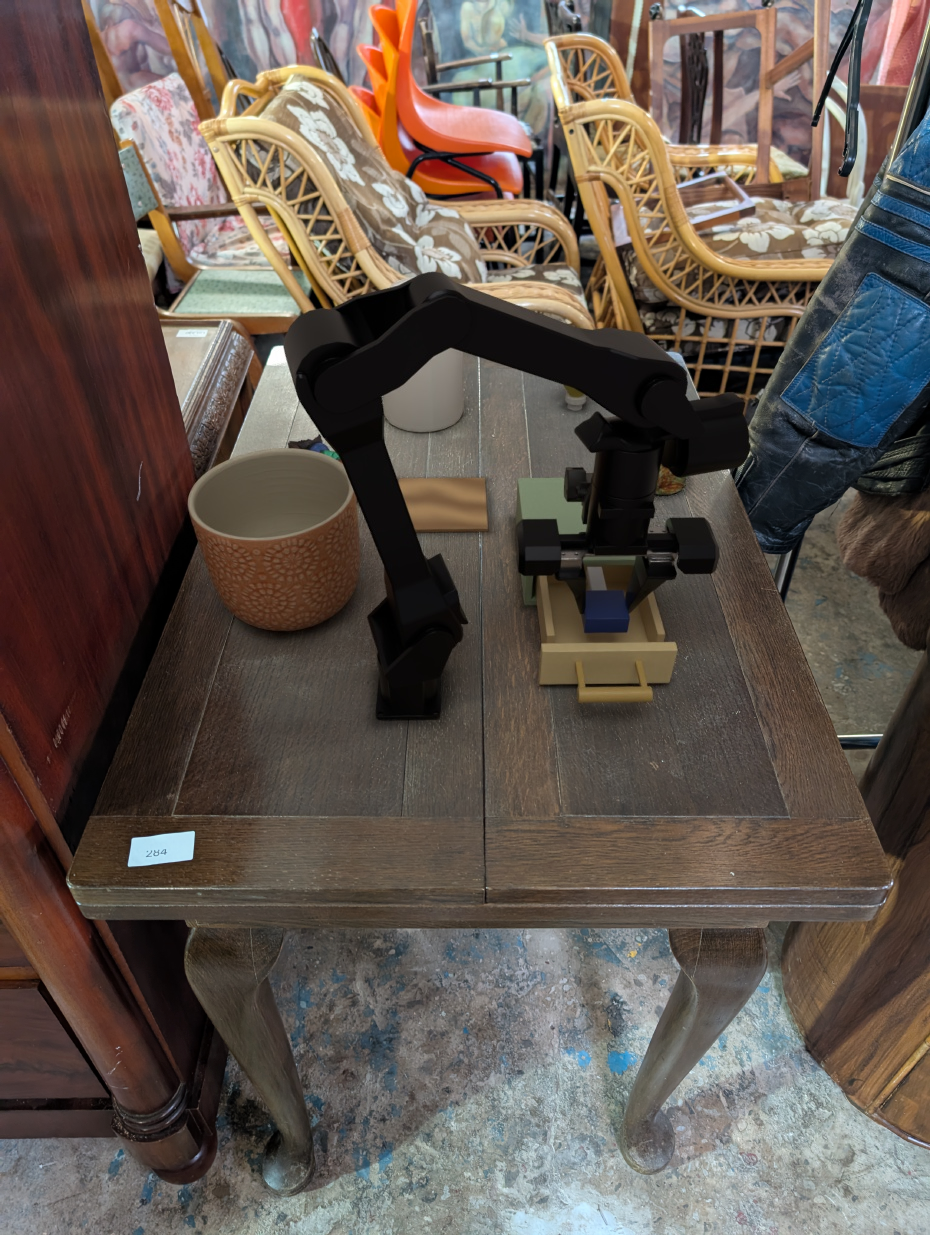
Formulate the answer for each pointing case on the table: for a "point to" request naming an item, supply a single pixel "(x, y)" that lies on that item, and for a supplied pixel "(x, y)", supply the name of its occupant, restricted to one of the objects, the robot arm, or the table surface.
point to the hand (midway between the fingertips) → (604, 611)
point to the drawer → (601, 644)
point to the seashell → (668, 482)
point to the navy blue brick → (604, 606)
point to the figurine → (314, 447)
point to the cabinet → (549, 503)
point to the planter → (279, 536)
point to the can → (428, 394)
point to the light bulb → (574, 398)
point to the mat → (446, 504)
